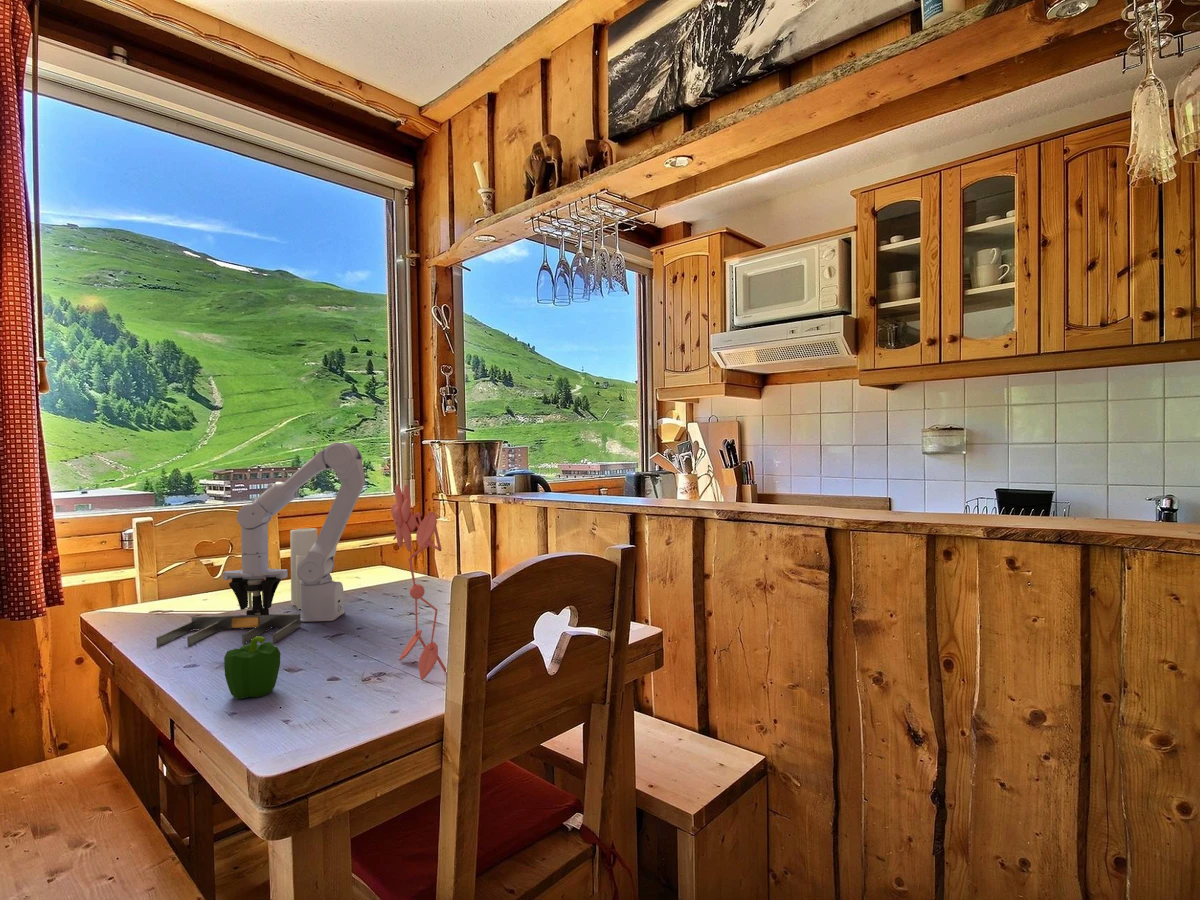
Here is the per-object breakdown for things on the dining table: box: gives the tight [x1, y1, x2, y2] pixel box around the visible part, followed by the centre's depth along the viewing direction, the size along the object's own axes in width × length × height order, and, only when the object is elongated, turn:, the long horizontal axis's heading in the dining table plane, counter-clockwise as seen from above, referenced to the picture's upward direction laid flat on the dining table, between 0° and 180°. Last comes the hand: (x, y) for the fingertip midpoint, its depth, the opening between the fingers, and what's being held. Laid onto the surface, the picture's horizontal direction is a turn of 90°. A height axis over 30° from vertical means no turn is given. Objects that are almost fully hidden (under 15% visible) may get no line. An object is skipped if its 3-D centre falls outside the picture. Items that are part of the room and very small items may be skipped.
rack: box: [156, 613, 302, 647], centre depth 136 cm, size 25×13×3 cm, turn 93°
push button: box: [244, 579, 270, 615], centre depth 149 cm, size 7×5×10 cm
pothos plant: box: [390, 483, 447, 681], centre depth 112 cm, size 15×26×35 cm, turn 32°
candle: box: [289, 527, 318, 610], centre depth 164 cm, size 11×7×20 cm, turn 41°
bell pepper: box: [223, 635, 281, 700], centre depth 103 cm, size 8×8×10 cm
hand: (255, 608), depth 149 cm, fingers closed on push button, 5 cm apart
